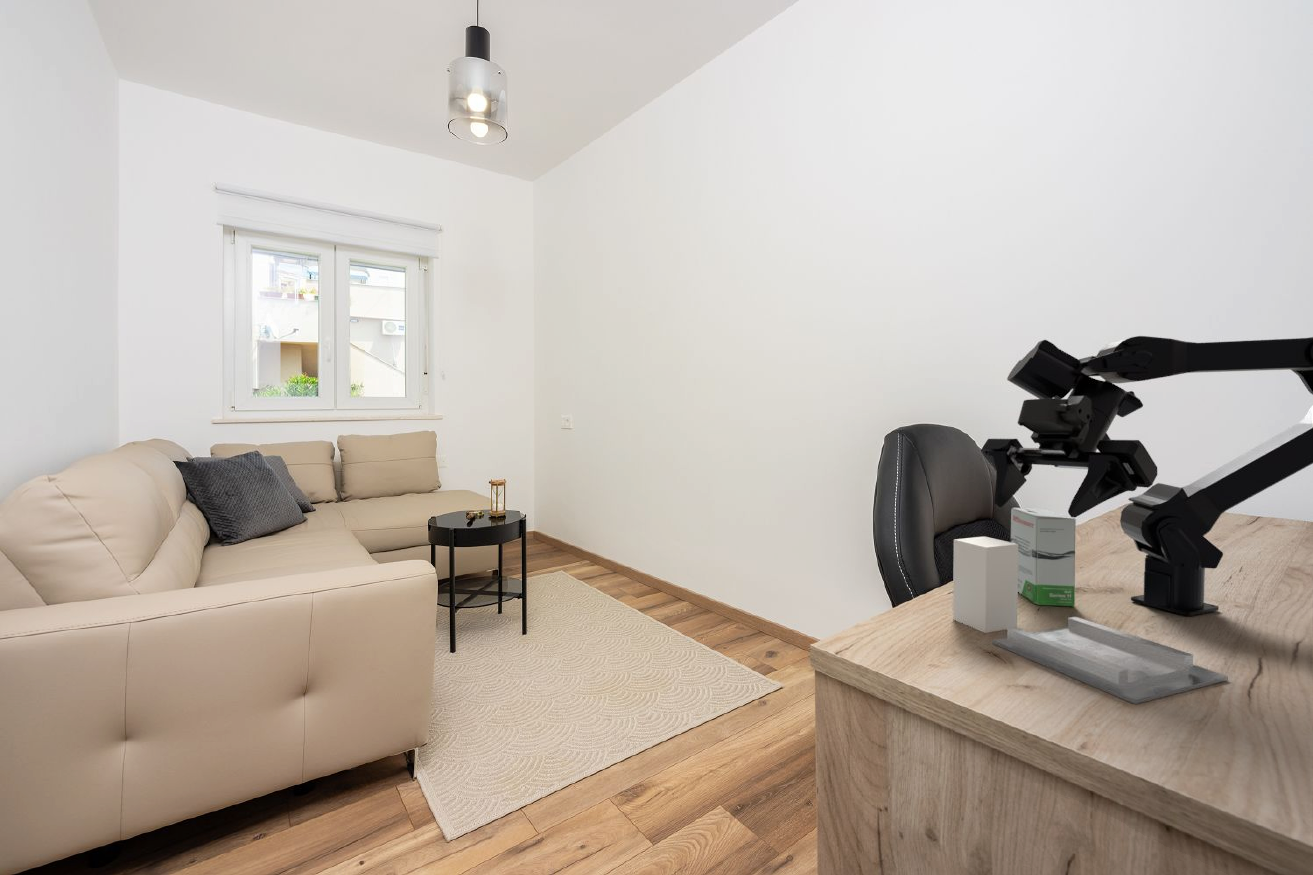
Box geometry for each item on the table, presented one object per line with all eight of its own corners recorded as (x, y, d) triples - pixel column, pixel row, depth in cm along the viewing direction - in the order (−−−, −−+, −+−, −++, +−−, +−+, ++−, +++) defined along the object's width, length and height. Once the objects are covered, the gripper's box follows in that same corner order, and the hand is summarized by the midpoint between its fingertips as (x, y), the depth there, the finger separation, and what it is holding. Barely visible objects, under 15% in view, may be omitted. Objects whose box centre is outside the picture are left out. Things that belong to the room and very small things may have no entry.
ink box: (1076, 607, 74) (1078, 517, 73) (1034, 605, 75) (1036, 516, 74) (1045, 588, 82) (1046, 506, 82) (1008, 586, 83) (1009, 506, 83)
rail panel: (1076, 628, 67) (1076, 609, 67) (1227, 680, 54) (1228, 657, 53) (992, 643, 63) (993, 623, 62) (1134, 704, 49) (1135, 679, 49)
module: (983, 614, 72) (984, 536, 71) (1017, 627, 67) (1018, 544, 67) (952, 619, 70) (953, 539, 70) (985, 632, 66) (986, 547, 65)
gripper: (987, 382, 81) (934, 464, 77) (1142, 369, 64) (1084, 473, 60) (1025, 434, 85) (976, 515, 81) (1180, 435, 68) (1128, 538, 64)
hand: (1031, 510), depth 71 cm, fingers open, 9 cm apart
